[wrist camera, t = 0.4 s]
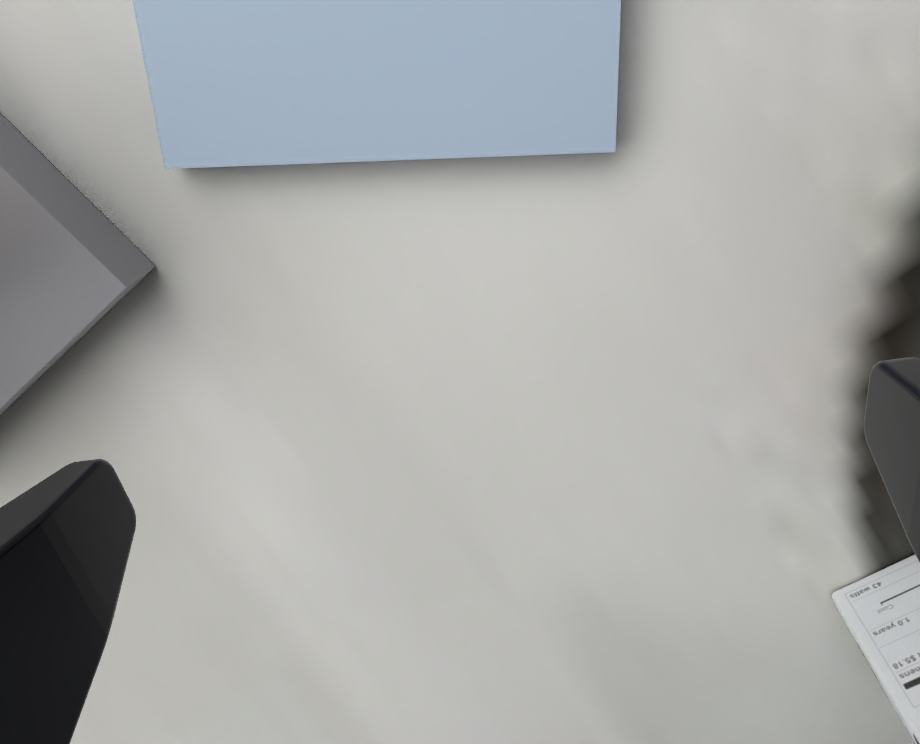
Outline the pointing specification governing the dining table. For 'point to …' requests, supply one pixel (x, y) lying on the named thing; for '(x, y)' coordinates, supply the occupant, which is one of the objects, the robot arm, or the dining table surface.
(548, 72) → the blue mat
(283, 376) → the dining table surface
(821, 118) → the dining table surface
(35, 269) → the socket block
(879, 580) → the light bulb box
